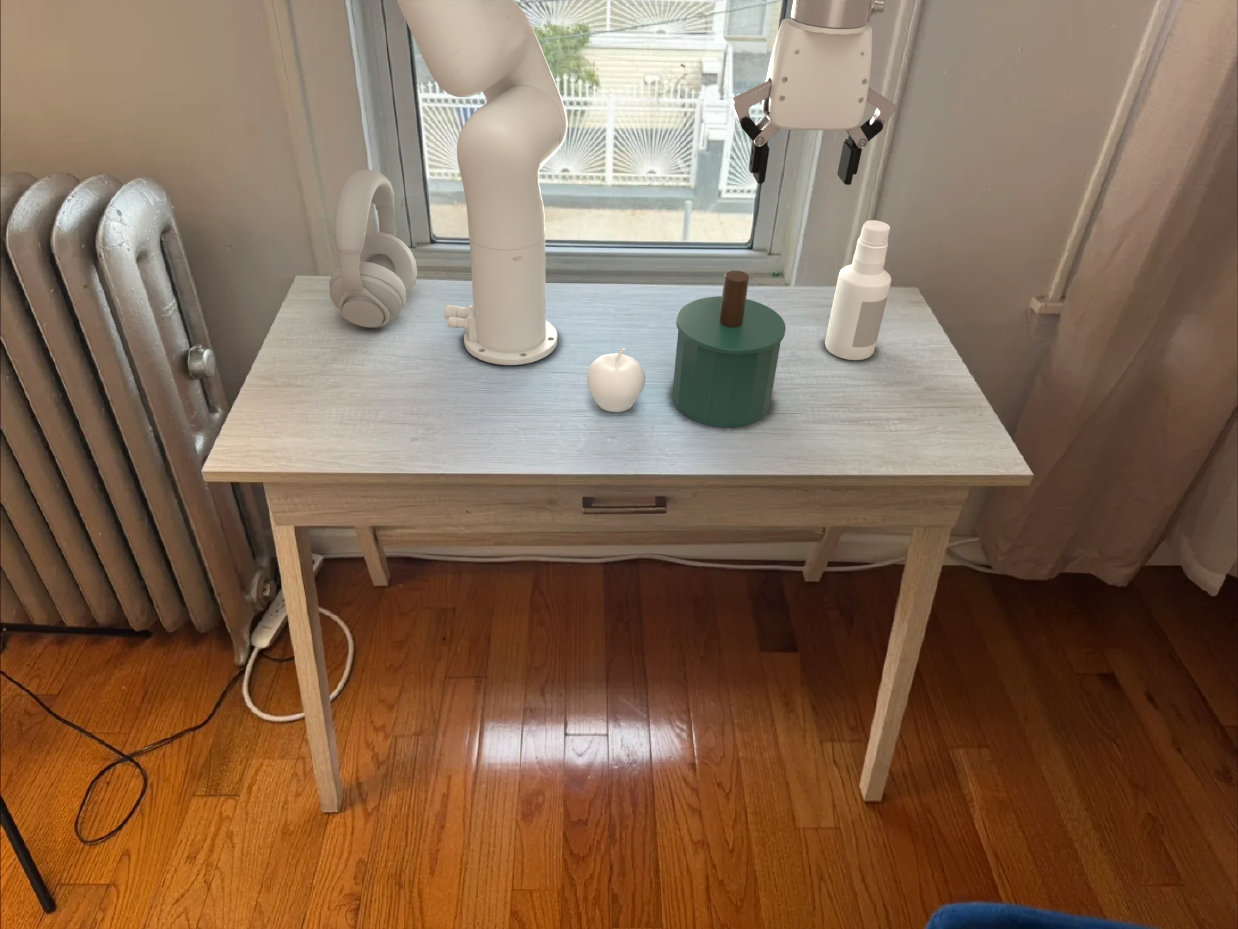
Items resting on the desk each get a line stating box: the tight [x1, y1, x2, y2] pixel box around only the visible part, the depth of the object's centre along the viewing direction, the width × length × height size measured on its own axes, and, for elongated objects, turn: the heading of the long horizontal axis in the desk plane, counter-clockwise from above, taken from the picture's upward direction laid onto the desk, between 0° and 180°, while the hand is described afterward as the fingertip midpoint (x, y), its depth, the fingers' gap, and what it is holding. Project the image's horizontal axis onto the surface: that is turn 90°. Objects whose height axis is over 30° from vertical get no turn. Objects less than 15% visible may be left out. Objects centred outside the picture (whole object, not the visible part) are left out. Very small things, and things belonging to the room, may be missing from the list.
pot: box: [671, 331, 782, 428], centre depth 113 cm, size 12×12×10 cm
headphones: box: [328, 168, 418, 329], centre depth 124 cm, size 18×10×20 cm, turn 177°
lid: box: [675, 270, 787, 354], centre depth 108 cm, size 13×13×7 cm
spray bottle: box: [824, 219, 892, 361], centre depth 122 cm, size 7×7×18 cm
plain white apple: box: [586, 347, 646, 413], centre depth 112 cm, size 7×7×8 cm
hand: (801, 179), depth 101 cm, fingers open, 9 cm apart
